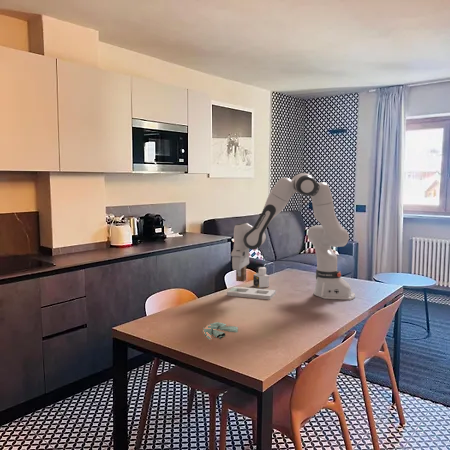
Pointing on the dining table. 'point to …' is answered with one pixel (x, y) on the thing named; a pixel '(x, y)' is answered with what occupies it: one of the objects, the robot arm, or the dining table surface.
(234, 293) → the parts plate
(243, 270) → the walnut block
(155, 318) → the dining table surface
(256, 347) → the dining table surface
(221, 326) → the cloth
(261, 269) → the medicine bottle
